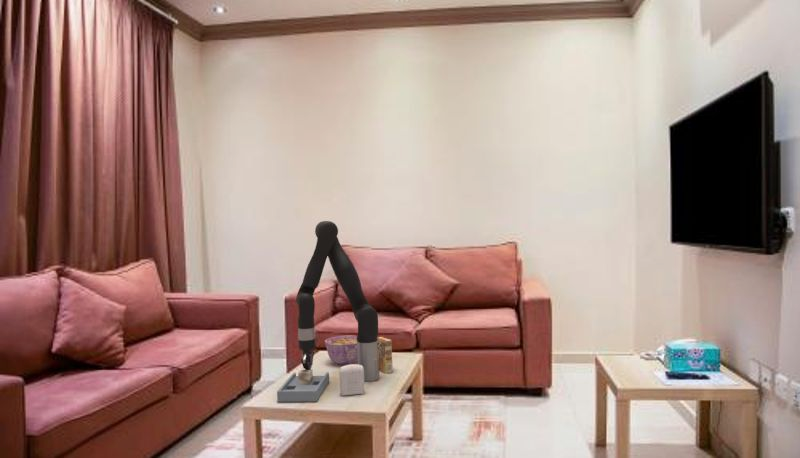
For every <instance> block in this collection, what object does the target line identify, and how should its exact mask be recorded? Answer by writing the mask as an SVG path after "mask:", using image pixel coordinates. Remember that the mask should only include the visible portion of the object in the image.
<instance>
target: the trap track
mask: <svg viewBox="0 0 800 458" xmlns="http://www.w3.org/2000/svg"><path fill="white" fill-rule="evenodd" d="M329 383H330V373H329V372H326V373H325V374H324V375H313V382H312V383H311V384H310V385H299V382H298V375H297V372H293V373H292V374H291V375H290V376H289V377H288V378H287V380H286V381H285V382H284V383H283V384H282V385H281V386H280V387H279V388H278V390H277V391H276V396H277V400H276V401H277V403H317V402H318V401H319V399H320V398H321V396H322V394H323V393H324V392H325V390H326V388H327V387H328V385H329Z"/></svg>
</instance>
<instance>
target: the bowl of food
mask: <svg viewBox="0 0 800 458" xmlns="http://www.w3.org/2000/svg"><path fill="white" fill-rule="evenodd" d="M324 343H325V346H326V350H327V354H328V357H329V359H330V360H331V361H332V362H333V363H337V364H338V365H340V366H346V365H350V364H355V362H358V357H357V335H354V334H353V335H349V334H348V335H337V336H332V337H329V338H327V339H325V340H324Z"/></svg>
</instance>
